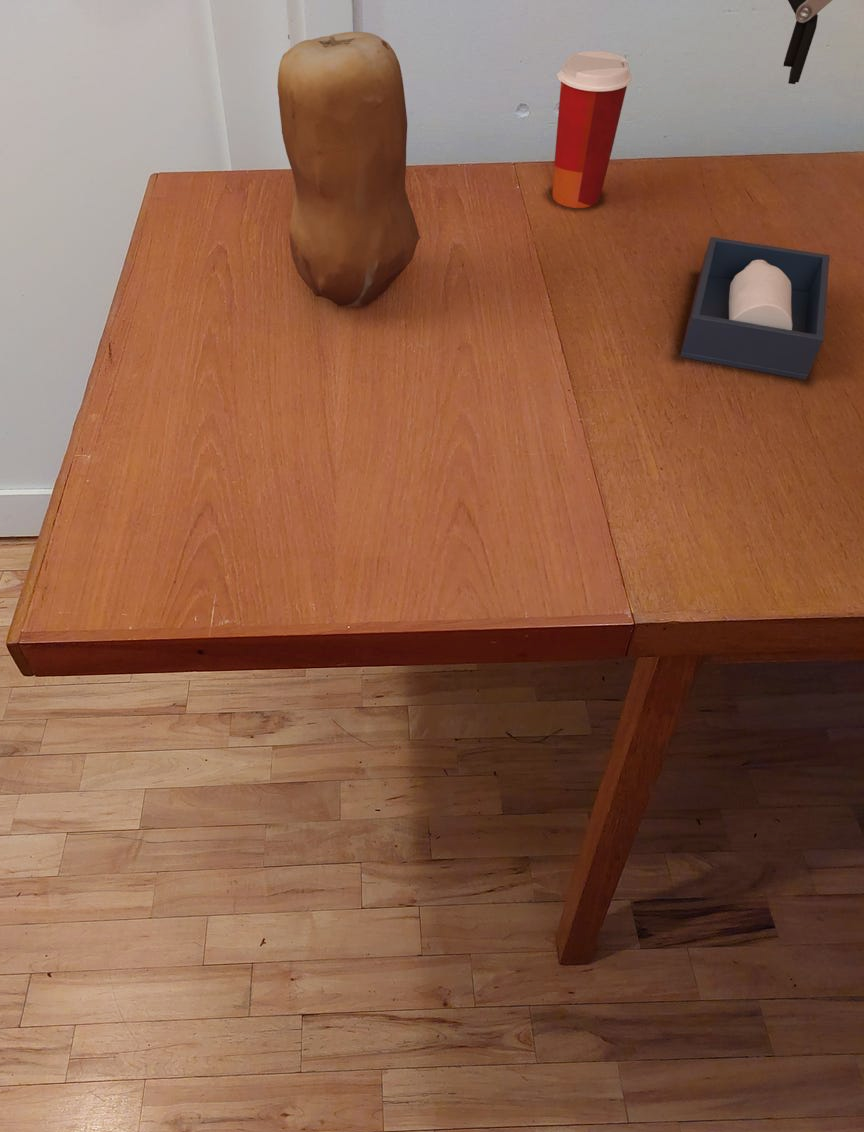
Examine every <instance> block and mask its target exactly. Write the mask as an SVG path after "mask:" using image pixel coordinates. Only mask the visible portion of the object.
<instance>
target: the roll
mask: <svg viewBox="0 0 864 1132" xmlns="http://www.w3.org/2000/svg"><path fill="white" fill-rule="evenodd" d="M729 320H734V321H740V322H746V323H752V324H757V325H763V326H769V327H775V328H781V329H786V330H792V316H791V282H790V280H789V279H788V277H787V276H786V275H785V274H784V273H783V272H782V271H781V270H780V269H779V268H777V267H775V266H772V265H770V264H768V263H767V262H766V261H764V260H754V261H752V262H751V263H750V264H749V265H748V266H746V267H745V269H744V270H742V271H741V272H739V273H738V274H737V275H736V276H735V277H734V279H733V281H732V282H731V284H730V293H729Z"/></svg>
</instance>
